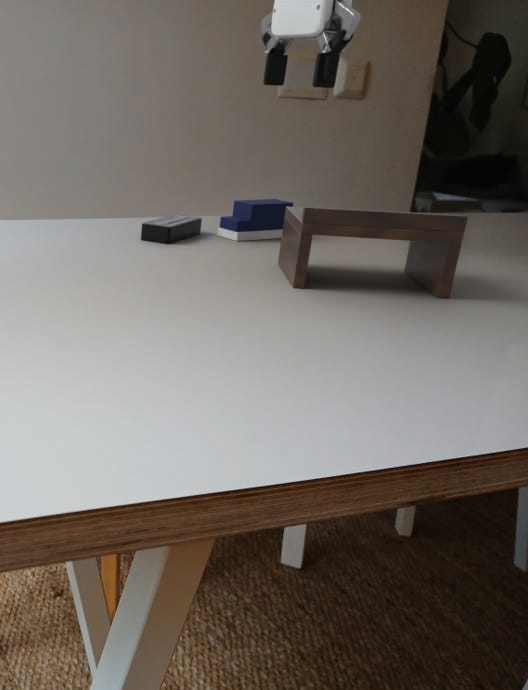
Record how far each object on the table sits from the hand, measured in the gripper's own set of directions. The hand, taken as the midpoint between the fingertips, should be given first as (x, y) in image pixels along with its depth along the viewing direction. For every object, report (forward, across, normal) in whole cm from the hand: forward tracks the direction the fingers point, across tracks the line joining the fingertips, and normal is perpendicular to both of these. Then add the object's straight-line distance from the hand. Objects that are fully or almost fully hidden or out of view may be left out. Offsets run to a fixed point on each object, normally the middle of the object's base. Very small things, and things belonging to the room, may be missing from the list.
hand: (297, 86), depth 99 cm
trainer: (+21, +2, +2) cm, 21 cm away
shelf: (+20, -23, +7) cm, 31 cm away
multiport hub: (+21, +5, +14) cm, 26 cm away
